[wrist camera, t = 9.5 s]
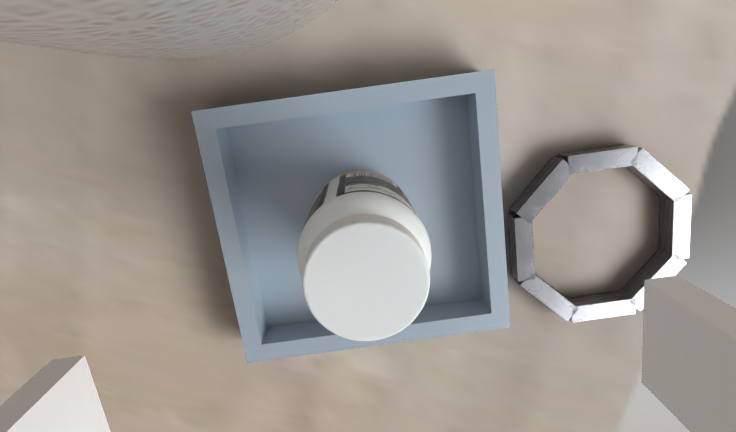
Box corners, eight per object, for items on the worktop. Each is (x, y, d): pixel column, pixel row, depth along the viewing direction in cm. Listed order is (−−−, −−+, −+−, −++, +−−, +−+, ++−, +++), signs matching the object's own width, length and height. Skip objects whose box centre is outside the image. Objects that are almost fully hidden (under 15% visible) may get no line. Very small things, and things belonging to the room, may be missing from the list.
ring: (504, 161, 26) (511, 163, 25) (679, 137, 26) (694, 138, 25) (513, 320, 28) (520, 329, 27) (673, 298, 28) (687, 306, 27)
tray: (206, 110, 25) (190, 111, 22) (480, 72, 25) (494, 69, 22) (256, 340, 28) (247, 362, 26) (496, 307, 28) (510, 326, 26)
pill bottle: (354, 283, 27) (355, 384, 17) (290, 210, 26) (252, 276, 16) (431, 223, 26) (476, 295, 17) (368, 146, 25) (377, 174, 15)
